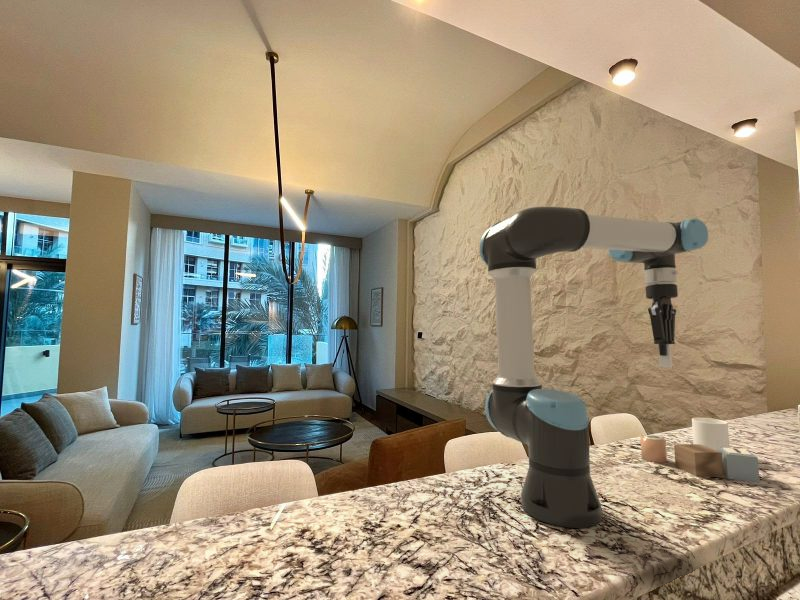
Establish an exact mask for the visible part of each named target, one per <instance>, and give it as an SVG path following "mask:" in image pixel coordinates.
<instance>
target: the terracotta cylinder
mask: <svg viewBox="0 0 800 600" xmlns="http://www.w3.org/2000/svg"><path fill="white" fill-rule="evenodd" d="M640 450H641V451H640V453H641V459H642V460H643V461H645V462H648V463H652V462H654V464H667V463H668V458H667V456H668V453H667V439H665V438H664V437H661V436H658V435H649V434H647V435H641V436H640ZM666 462H667V463H666Z"/></svg>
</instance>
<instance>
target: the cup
mask: <svg viewBox="0 0 800 600" xmlns="http://www.w3.org/2000/svg"><path fill="white" fill-rule="evenodd" d="M691 427H692V428H691V429H692V443H693V444H700V445H703V446H705V447H708V448H711V449H714V450H716V451H718V447H719V448H731V447H730V435H729V434H730V433H729V424H728V422H727V421H726V420H722V419H717V418H711V417H692V418H691Z"/></svg>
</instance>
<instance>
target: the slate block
mask: <svg viewBox="0 0 800 600" xmlns="http://www.w3.org/2000/svg"><path fill="white" fill-rule="evenodd" d="M718 451H719V452H722V462H723V476H725V477H726V478H727V479H728V480H729V479H730V480H735V479H737V481H745V482H750V483H751V482H753V483H760V482H761V480H760V471H759V470H760V469H759V468H760V467H759V457H758V456H757V455H756V454H754V453H752V452H751V451H750V450H747V449H741V448H732V447H730V448H719V447H718Z"/></svg>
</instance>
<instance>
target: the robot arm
mask: <svg viewBox="0 0 800 600" xmlns="http://www.w3.org/2000/svg"><path fill="white" fill-rule="evenodd" d="M708 240H709V230H708V228H707V226H706V223H705V222H704V221H702V220H700V219H699V218H690V219H683V220H682V221H681V220H680V221H678V222H673V221H671V222H670V221H658V220H648V219H638V218H630V217H629V218H627V217H617V216H608V215H597V214H588V213H587V211H585V210H584V209H581V208H574V207H573V208H572V207H563V206H562V207H561V206H535V207H533V206H532V207H528V208H525V209H522V210H520V211H518V212H517V213H515V214H513V215H510V216H509V217H507V218H505V219H503V220H500V221H498V222H497V221H496V223H494V224H492V226H490V227H489V228H487V230H485V232H483V235H482V236H481V239H480V242H479V246H478V247H479V248H478V249H479V254H480V258H481V260H482V261H483V262H484V264H485V265H486V266H487V271H488V275H489V276H490V277H491V278H492V279H493V280H494V299H495V323H496V324H495V326H496V350H497V352H496V353H497V371H498V372H497V376H496V378H494V379H493V380H492V383H491V386H492V390H490V392H489V395H487V397H486V400H485V402H484V410H485V411H484V413H485V415H486V419H487V420H488V422H489V424H490V425H491V426H492V428H493V429H494V430H496V431H497V432H499V433H500V434H501V435H503V436H505V437H507V438H510V439H512V440H515V441H517V442H520V443H521V444H524V445H526V446H527V448H528V470H527V472H526V475H525V478H524V479H525V480H524V483H523V486H522V489H521V494H520V496H521V497H520V498H521V499H520V503H521V504H520V505H521V508H522V509H523V511H524V512H525V513H526V514H528V515H529V516H531V517H532V518H534V519H536V520H538V521H540V522H543V523H547V524H549V525H554V526H557V527H561V528H562V527H563V528H569V529H570V528H571V529H583V528H590V527H593V526H596V525H598V524H599V523H600V522H601V521H602V519H603V513H602V512H603V510H602V503H601V501H600V498H599V495H598V492H597V489H596V487H595V485H594V481H593V479H592V476H591V468H590V467H591V465H590V463H591V462H590V459H591V458H590V430H589V429H590V427H589V424H590V421H589V420H590V419H589V416H588V408H587V404H586V402H585V401H584V400H583V399H582V398H581V397H579V396H578V395H576V394H574V393H571V392H567V391H564V390H557V389H553V388H552V389H551V388H543V383H542V381H541V380H540V379H538V377H536V375H535V371H536V370H535V355H534V354H535V353H534V352H535V351H534V333H533V332H534V331H533V330H534V329H533V311H532V310H533V309H532V289H531V285H532V284H531V278H532V276H534V274H535V273H536V272H537V259H539V258H542V257H545V256H548V255H554V254H557V253H565V252H566V253H568V252H570V253H575V252H578V251H580V250H581V249H596V250H608V255H609V257H610V259H612V260H614V261H616V262H621V263H624V264H625V263H631V264H632V263H633V264H635V263H636V264H643V265H644V266H643V269H644V284H645V285H646V286H645V298H646V299H648V300H651V301H652V302H651V307H648V308H647V311H648V315H649V318H650V319H649V320H650V324H651V331H652V336H653V344H654V345H657V350H658V365H659V368H664V369H665V368H666V369H672V368H673V354H672V353H673V352H672V345H675V344H676V341H675V334H676V332H675V331H676V330H675V329H676V328H675V327H676V314H677V309H675V308H674V306H673V304H672V299H675V298H678V295H679V293H678V285H677V284H676V283H677V275H679V272H678V270H677V269H676V268H677V265H676V255H678V254H682V253H687V252H688V253H689V252H692V251H696V250H699V249H702V248H704V247H705V245H706V244H707V243H708Z"/></svg>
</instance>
